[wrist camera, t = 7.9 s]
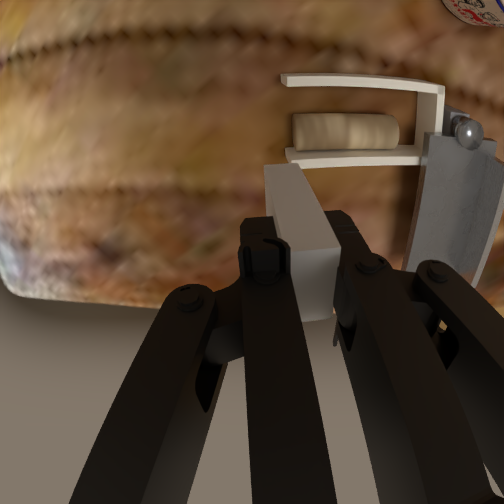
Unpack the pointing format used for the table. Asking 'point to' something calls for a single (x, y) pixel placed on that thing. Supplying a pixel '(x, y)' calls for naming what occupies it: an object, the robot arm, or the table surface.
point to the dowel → (344, 131)
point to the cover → (456, 200)
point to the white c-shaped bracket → (427, 120)
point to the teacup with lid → (478, 11)
